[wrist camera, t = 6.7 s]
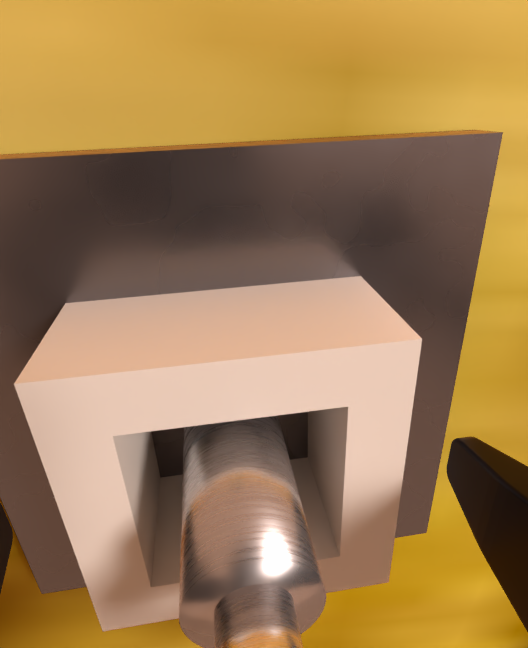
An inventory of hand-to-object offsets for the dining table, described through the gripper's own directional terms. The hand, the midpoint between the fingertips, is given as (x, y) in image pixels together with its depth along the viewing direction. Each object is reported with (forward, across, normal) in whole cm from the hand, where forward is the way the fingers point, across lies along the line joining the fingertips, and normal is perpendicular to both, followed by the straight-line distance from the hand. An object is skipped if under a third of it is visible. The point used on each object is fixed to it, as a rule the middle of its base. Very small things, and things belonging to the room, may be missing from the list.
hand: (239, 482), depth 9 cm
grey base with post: (+4, 0, 0) cm, 4 cm away
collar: (+2, 0, 0) cm, 2 cm away
